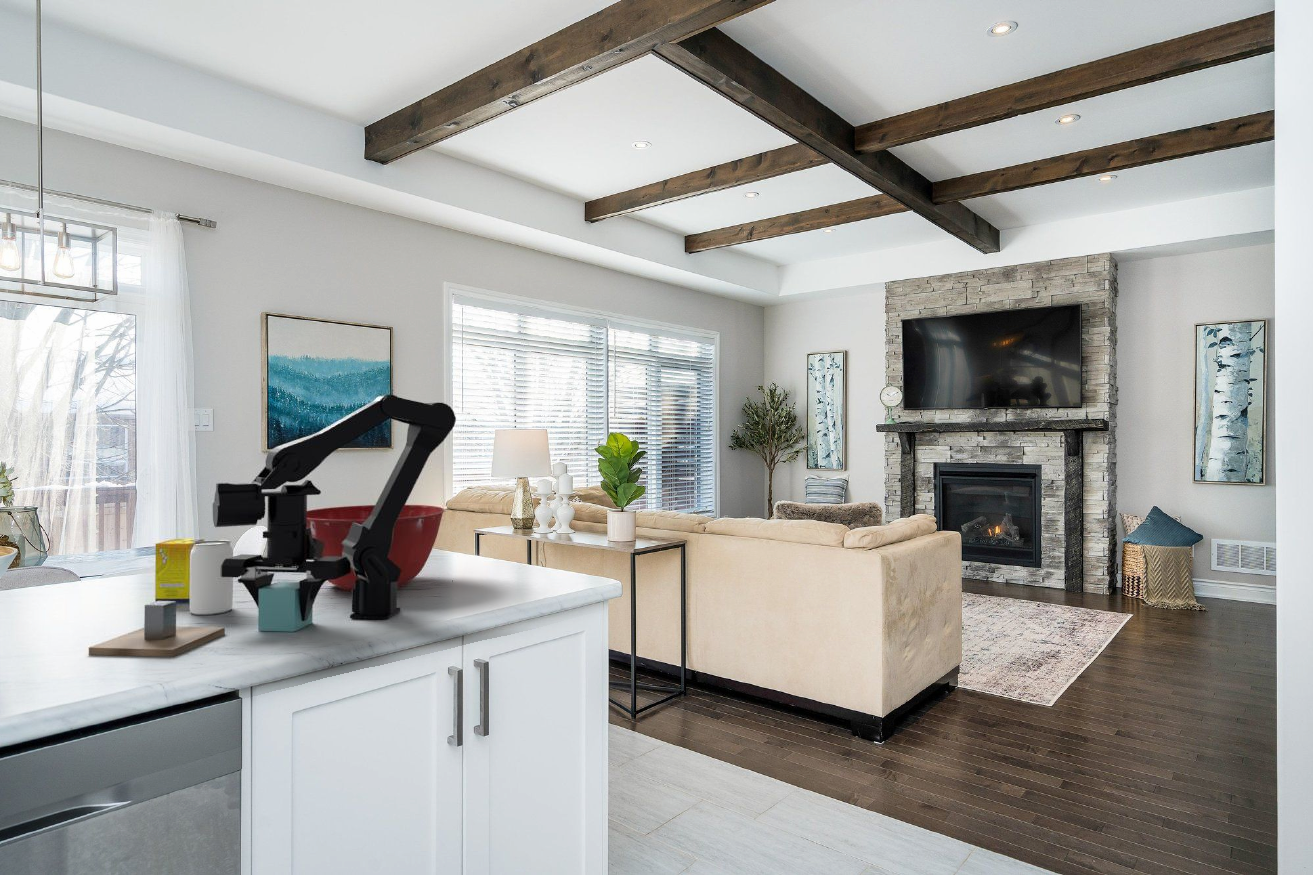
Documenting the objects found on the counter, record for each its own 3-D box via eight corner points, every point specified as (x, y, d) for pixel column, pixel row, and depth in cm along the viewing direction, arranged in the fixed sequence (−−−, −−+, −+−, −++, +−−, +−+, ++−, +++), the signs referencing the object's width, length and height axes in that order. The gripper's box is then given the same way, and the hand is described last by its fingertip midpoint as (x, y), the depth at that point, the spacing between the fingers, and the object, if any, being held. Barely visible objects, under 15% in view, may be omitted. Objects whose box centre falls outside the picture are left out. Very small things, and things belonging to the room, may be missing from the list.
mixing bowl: (290, 604, 138) (291, 519, 138) (302, 576, 164) (302, 504, 164) (450, 594, 148) (451, 515, 148) (437, 569, 174) (438, 502, 174)
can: (213, 616, 128) (213, 545, 128) (180, 614, 129) (181, 544, 129) (241, 608, 134) (242, 540, 134) (209, 605, 135) (210, 539, 135)
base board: (224, 634, 117) (224, 627, 117) (172, 656, 105) (172, 649, 105) (149, 632, 118) (149, 625, 118) (88, 654, 106) (88, 647, 106)
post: (175, 634, 113) (176, 601, 113) (163, 639, 110) (163, 605, 110) (157, 634, 113) (158, 600, 113) (144, 639, 110) (144, 605, 110)
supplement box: (171, 596, 143) (172, 538, 143) (205, 596, 143) (205, 538, 143) (153, 603, 137) (154, 542, 137) (188, 603, 137) (189, 543, 137)
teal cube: (312, 622, 125) (312, 582, 125) (294, 631, 119) (294, 589, 119) (277, 621, 125) (278, 581, 125) (258, 630, 119) (258, 588, 119)
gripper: (365, 518, 130) (364, 609, 130) (258, 516, 130) (257, 607, 130) (335, 526, 119) (334, 626, 119) (218, 524, 119) (217, 623, 119)
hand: (286, 620), depth 122 cm, fingers closed on teal cube, 6 cm apart
